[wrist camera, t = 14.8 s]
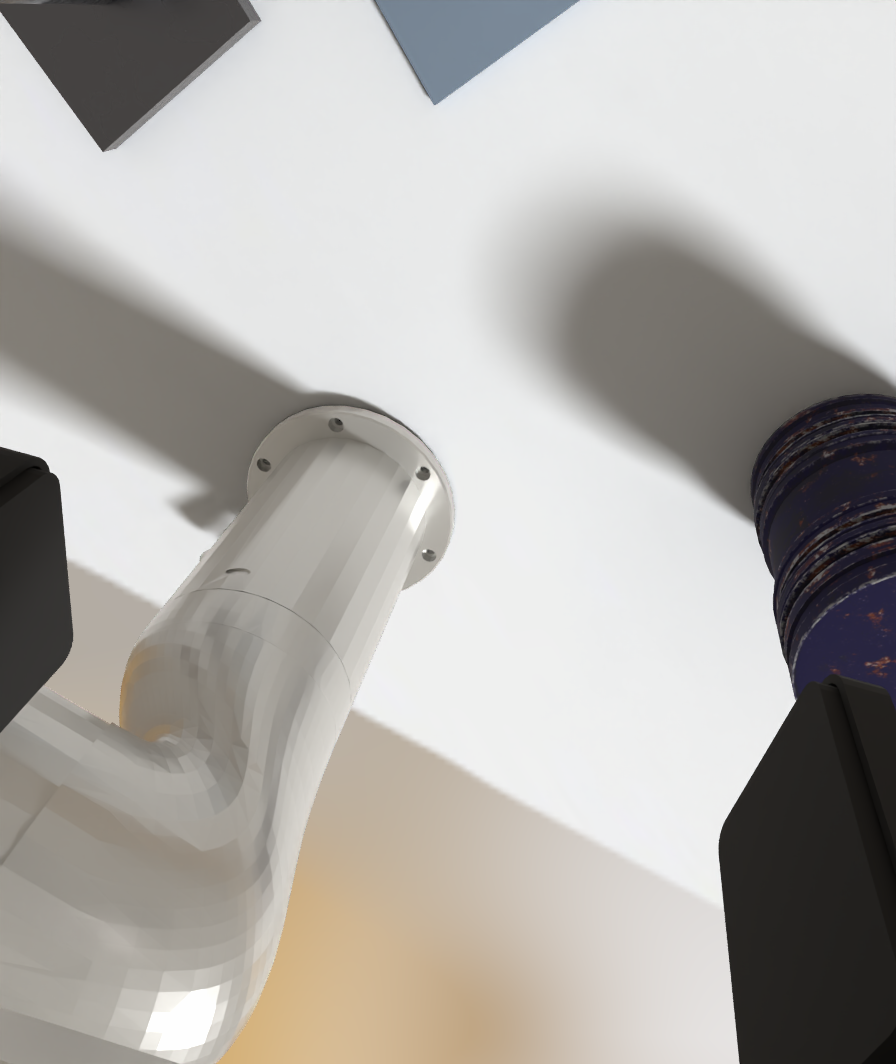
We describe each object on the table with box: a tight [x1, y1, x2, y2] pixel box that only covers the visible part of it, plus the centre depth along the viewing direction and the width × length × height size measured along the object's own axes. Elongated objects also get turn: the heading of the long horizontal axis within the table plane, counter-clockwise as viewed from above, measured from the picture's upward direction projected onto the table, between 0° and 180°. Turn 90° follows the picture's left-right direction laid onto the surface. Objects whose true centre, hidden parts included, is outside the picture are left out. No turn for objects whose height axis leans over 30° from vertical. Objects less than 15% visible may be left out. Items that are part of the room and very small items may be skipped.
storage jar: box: [751, 394, 896, 710], centre depth 36 cm, size 10×10×15 cm
